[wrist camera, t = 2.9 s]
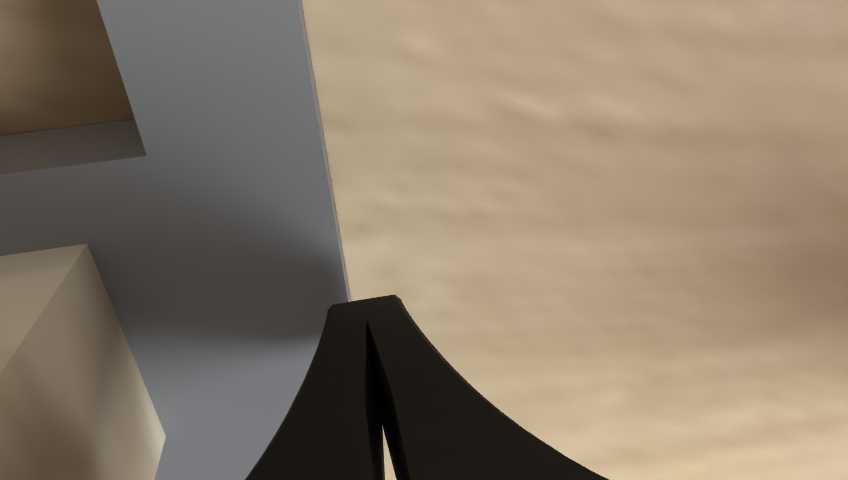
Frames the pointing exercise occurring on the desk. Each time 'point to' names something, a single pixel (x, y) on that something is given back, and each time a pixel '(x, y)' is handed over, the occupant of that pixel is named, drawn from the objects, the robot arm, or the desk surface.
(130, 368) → the maple block
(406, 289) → the desk surface
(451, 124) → the desk surface
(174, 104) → the trap board
